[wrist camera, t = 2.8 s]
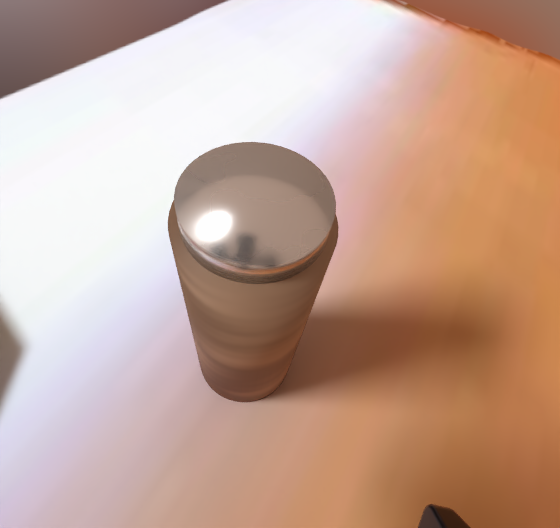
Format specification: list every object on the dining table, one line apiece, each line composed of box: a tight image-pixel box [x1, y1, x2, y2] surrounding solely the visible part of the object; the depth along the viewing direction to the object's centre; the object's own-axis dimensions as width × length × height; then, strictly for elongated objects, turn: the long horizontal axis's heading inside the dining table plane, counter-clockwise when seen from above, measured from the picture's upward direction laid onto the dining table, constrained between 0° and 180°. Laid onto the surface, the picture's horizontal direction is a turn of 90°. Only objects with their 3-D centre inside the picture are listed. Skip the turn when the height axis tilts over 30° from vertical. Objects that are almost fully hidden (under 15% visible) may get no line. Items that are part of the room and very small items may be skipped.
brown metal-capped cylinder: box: [168, 142, 338, 402], centre depth 16 cm, size 5×5×13 cm
